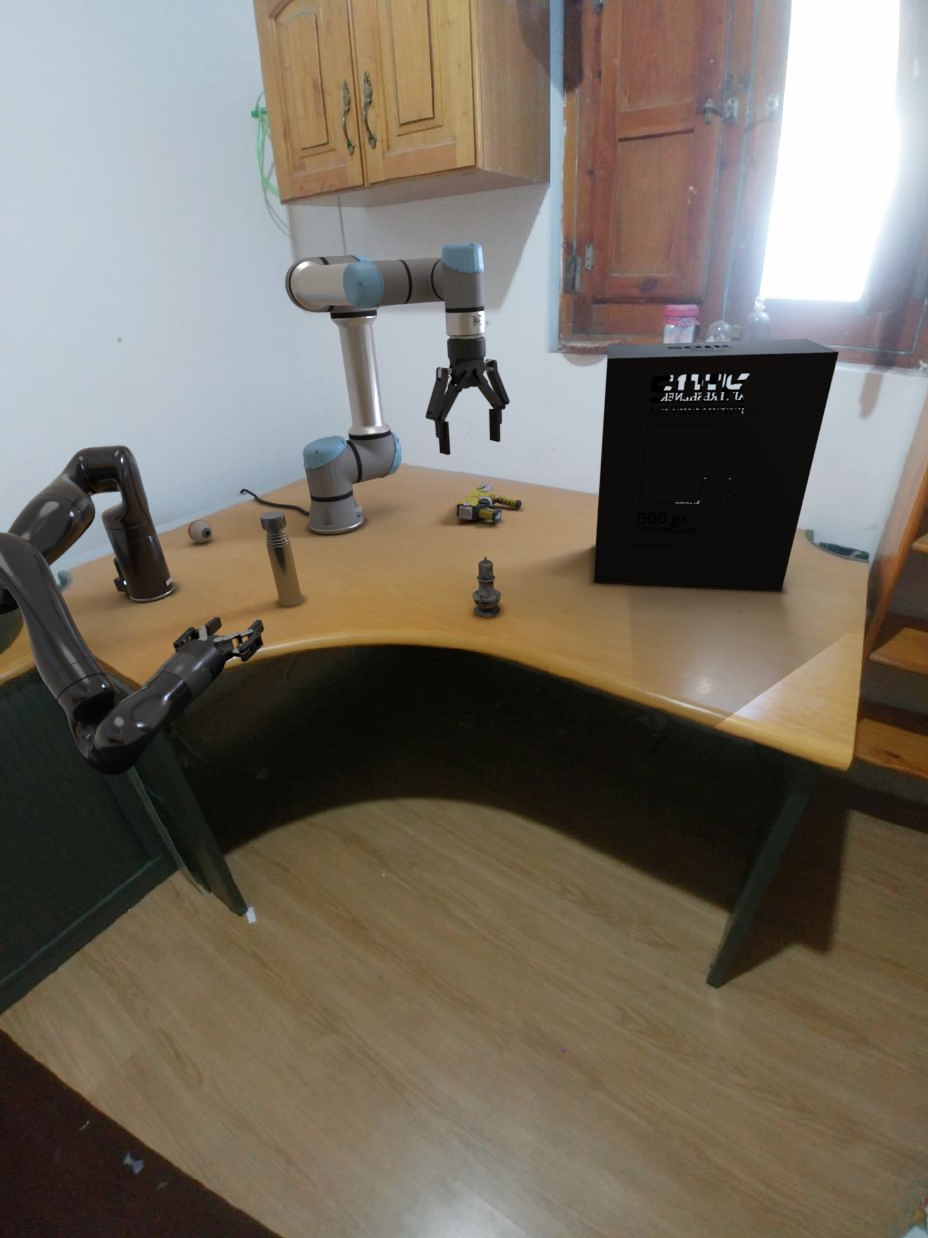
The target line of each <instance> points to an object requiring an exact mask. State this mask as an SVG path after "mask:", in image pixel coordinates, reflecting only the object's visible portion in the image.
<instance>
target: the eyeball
mask: <svg viewBox="0 0 928 1238" xmlns="http://www.w3.org/2000/svg"><path fill="white" fill-rule="evenodd" d="M187 534H188V537H189V538H190V539H191V540H192V541H193V542H196V543H198V544H199V543H201V544H202V543H207V542H208V541H209V540H211V538H212V536H213V527H212V526H211V524H210V523H209V522H207V521H205V520H201V519H197V520H193V521H192V522H191V523H190V524H189V525H188V527H187Z"/></svg>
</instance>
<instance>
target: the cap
mask: <svg viewBox="0 0 928 1238" xmlns="http://www.w3.org/2000/svg"><path fill="white" fill-rule="evenodd" d="M259 518H260V519H259V520H260V524H261V528H262V530H263V531H265V532H267V531H276V530H280V529H283V528H284V529H285V527H286V526H287V521H286V515H285V513H284V512H283V511H282V510H271V511H266V512H263V513H262V514H260V515H259Z"/></svg>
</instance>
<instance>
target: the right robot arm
mask: <svg viewBox="0 0 928 1238" xmlns="http://www.w3.org/2000/svg"><path fill="white" fill-rule="evenodd" d="M484 271H485V265H484V257H483V247H482V245H481V244H480V243H479V242H475V241H470V242H452V243H445V244H444V245H443V246H442V248H441V257H426V258H425V257H422V258H408V259H407V258H406V259H404V258H403V259H390V260H389V259H388V260H387V259H386V260H385V259H384V260H383V259H382V260H381V259H380V260H372V259H371V258H370V257H368V256H366V255H356V254H348V255H330V256H329V255H328V256H309V257H304V258H301V259H299V260H297V261H295V262H294V263H293V264H291V265H290V267H289V268H288V270H287V271H286V274H285V278H284V288H285V292H286V294H287V296H288V298H289V300H290V301H291V302H292V303H293V304H294V306H296V307H297V308H298V309H300V310H302V311H306V312H309V313H318V314H319V313H329V315H330V316H329V317H330V321H332V323H333V324H335V326H336V327H337V328H338V336H339V341H340V348H341V355H342V361H343V362H342V363H343V369H344V375H345V382H346V383H345V384H346V389H347V396H348V403H349V410H350V416H351V417H350V418H351V423H352V424H351V426H350V427H349V429H348V431H347V433H348V439H347V440H346V439H345V437H343V436H341V435H332V436H325V437H321V438H318V439H315V440H312V441H311V442H309V443H308V444H306V445H305V446H304V448H303V450H302V457H303V459H302V460H303V467H304V471H305V476H306V481H307V486H308V492H309V498H310V507H309V511H308V510H306V509H304V508H302V507H300V506H298V505H294V504H284V503H277V502H272V501H268V500H264V499H262V498H259V497H258V495H257V494H256V493H254V492H253V491H251V490H249V489H247V488H241V490H240V492H239V494H244V493H247V494H249V495H250V496H253V498H254V499H255V500H256V501H257V502H259V503H261V504H264V505H268V506H272V507H277V508H287V509H294V510H298V511H300V512H301V513H302V514H304V515H306V516H308V528H309V529H308V530H310V531H311V532H312V533H314V534H317V535H323V536H324V535H325V536H327V535H329V536H331V535H339V534H340V535H341V534H345V533H350V532H353V531H355V530H357V529H359V528H361V527H362V526H363V525H364V523H365V519H364V514H363V505H362V504H361V505H359V504H358V501H357V500H356V498H355V495H354V489H353V485H357V484H360V483H365V482H368V481H373V480H376V479H385V478H386V477H388V476H391V475H394V474H396V473H397V472H398V470H399V468H400V467H401V464H402V460H403V459H402V457H403V450H402V444H401V442H400V438H399V436H398V435H397V434H396V433H395V432H394V431H392V429H391V426H390V425H389V424H388V423H386V421H385V418H384V417H385V416H384V409H383V408H384V407H383V402H382V393H381V392H382V391H381V385H380V377H379V368H378V367H379V366H378V360H377V352H376V350H377V349H376V344H375V335H374V326H373V325H374V322H375V321H376V319H377V318H378V311H377V310H378V309H379V308H380V307H389V306H398V305H401V306H402V305H413V304H425V303H426V304H427V303H439V302H444V316H445V317H444V318H445V335H446V336H448V337H449V338H447V340H446V350H447V353H446V354H447V359H448V360H449V366H448V367H442V366H437V367H436V369H435V381H434V384H433V387H432V392H431V395H430V399H429V401H428V405H427V408H426V412H425V419H426V420H430V421H433V422H434V429H435V438H436V439H438V448H439V449H438V450H439V454H443V455H445V456H450V455H451V442H450V422H449V421H448V420H446V419H447V417H448V415H449V413H450V411H451V409H452V408H453V405H454V403H455V402H456V399H458V396H459V394H460V393H462V391H463V390H468V389H470V388H477V389H478V390H479V392H480V394H482V395H483V397H484V398H485V400H486V401H487V402H488V404H489V406H491V408H488V423H489V424H488V428H489V429H488V432H489V441H491V442H496V443H499V442H501V425H502V423H503V411H504V410H506V408H507V406H508V405H510V402H511V401H510V398H509V395H508V393H507V390H506V387H505V385H504V383H503V380H502V378H501V376H500V373H499V367H498V366H499V365H498V361H497V360H496V359H492V358H486V359H485V357H486V356H487V347H486V341H487V340H486V338H485V337H484V336H483V335H484V334H485V333H486V316H485V315H486V311H485V272H484ZM484 373H486V377H487V378H488V379H487V378H486V377H485V375H484ZM449 379H450V380H449Z"/></svg>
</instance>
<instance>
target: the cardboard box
mask: <svg viewBox="0 0 928 1238" xmlns="http://www.w3.org/2000/svg"><path fill="white" fill-rule="evenodd" d="M839 353H840V352H839V351H837V350H835V349H832V348H830V347H828V346H825V345H823V344H819V343H817V342H815V341H812V340H810V339H808V338H795V339H791V338H790V339H789V338H787V339H765V340H764V339H761V340H759V339H758V340H732V341H730V340H729V341H728V340H727V341H698V342H697V341H696V342H669V343H639V344H638V343H636V344H635V343H634V344H632V343H631V344H609V345H607V355H606V356H607V357H606V371H605V384H604V400H603V401H604V403H603V418H602V432H601V433H602V436H601V450H600V453H601V454H600V464H599V465H600V466H599V467H600V468H599V481H598V482H599V483H598V484H599V485H598V498H597V515H596V530H595V545H594V546H595V548H594V565H593V583H594V584H614V585H615V584H616V585H618V584H619V585H637V586H639V585H641V586H658V587H659V586H663V587H681V588H682V587H684V588H703V589H705V588H707V589H727V590H728V589H729V590H747V591H767V592H768V591H769V592H771V591H772V592H782V591H783V587H784V583H785V578H786V575H787V572H788V571H787V570H788V567H789V562H790V558H791V554H792V549H793V545H794V542H795V537H796V532H797V528H798V525H799V520H800V516H801V512H802V509H803V508H802V507H803V503H804V499H805V495H806V490H807V487H808V482H809V478H810V476H811V475H810V474H811V470H812V467H813V462H814V457H815V454H816V449H817V445H818V442H819V436H820V432H821V428H822V424H823V420H824V416H825V411H826V408H827V404H828V399H829V395H830V391H831V387H832V382H833V379H834V374H835V370H836V366H837V362H838V358H839ZM742 374H743V375H747V377H746V378H744V379H739V378H740V377H741V376H742ZM693 375H695V376H696V375H697V382H696V380H695V379H693V380H692V377H693ZM707 375H709V378H708V379H707ZM682 376H685V380H684V382H683V389H679V385H680V379H679V378H680V377H682ZM730 376H731V377H730ZM729 377H730V383H729V385H730V386H735V385H740V386H739V388H729V387H728V379H729ZM706 379H707V380H706ZM696 385H699V389H695V388H696ZM713 385H714V386H715V387H714V389H709V386H713ZM667 387H670V389H666V388H667Z"/></svg>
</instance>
